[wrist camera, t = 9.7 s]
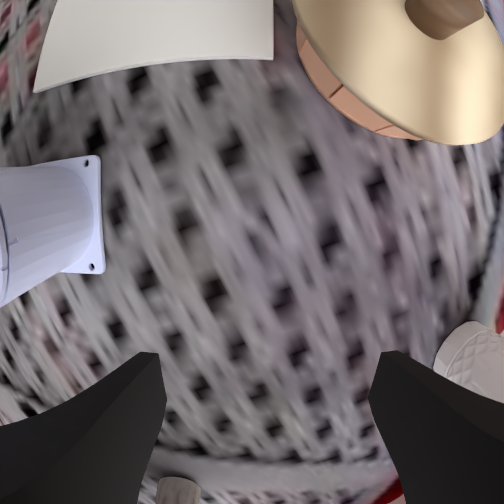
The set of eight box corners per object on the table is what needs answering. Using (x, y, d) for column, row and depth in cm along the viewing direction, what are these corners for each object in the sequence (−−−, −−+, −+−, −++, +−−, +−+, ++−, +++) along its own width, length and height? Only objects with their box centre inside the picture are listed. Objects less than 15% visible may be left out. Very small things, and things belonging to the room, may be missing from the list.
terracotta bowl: (296, 125, 16) (315, 105, 11) (292, -25, 13) (303, -65, 8) (458, 153, 17) (503, 151, 12) (439, 15, 13) (470, -6, 9)
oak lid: (303, 130, 12) (333, 106, 7) (279, -73, 8) (286, -117, 4) (514, 161, 12) (562, 165, 7) (469, -16, 8) (500, -36, 4)
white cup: (415, 388, 22) (464, 459, 12) (445, 315, 20) (519, 377, 10) (467, 378, 22) (516, 432, 12) (495, 313, 20) (559, 358, 10)
